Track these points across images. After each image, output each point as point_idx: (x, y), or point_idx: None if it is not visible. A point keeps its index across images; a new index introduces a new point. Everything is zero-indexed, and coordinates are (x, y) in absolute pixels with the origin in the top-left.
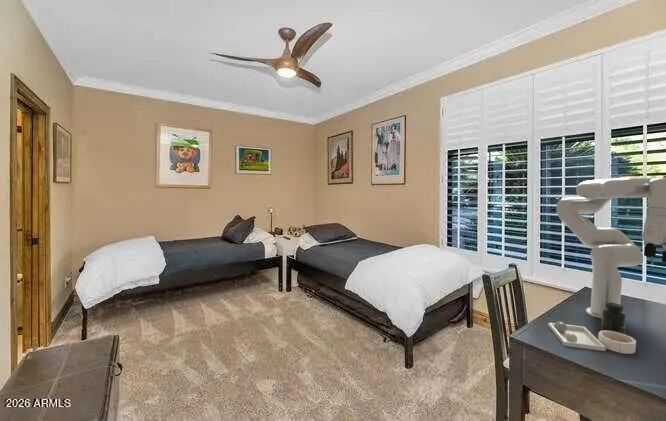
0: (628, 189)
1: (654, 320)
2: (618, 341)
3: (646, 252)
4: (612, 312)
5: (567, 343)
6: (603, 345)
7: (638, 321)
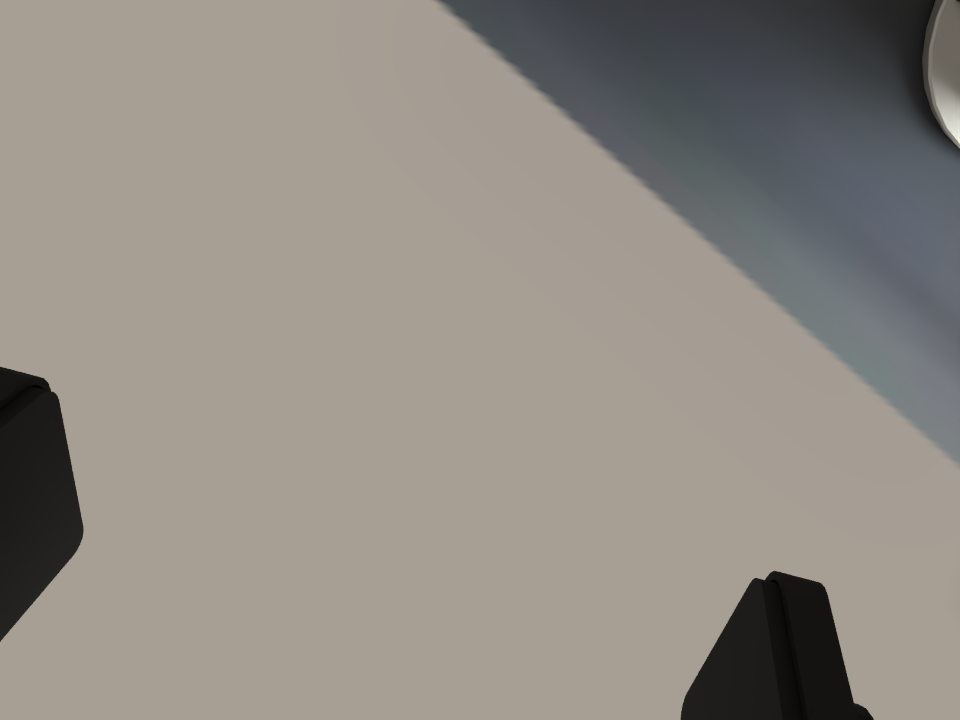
0: None
1: (899, 369)
2: None
3: (766, 684)
4: None
5: None
6: None
7: (903, 239)
